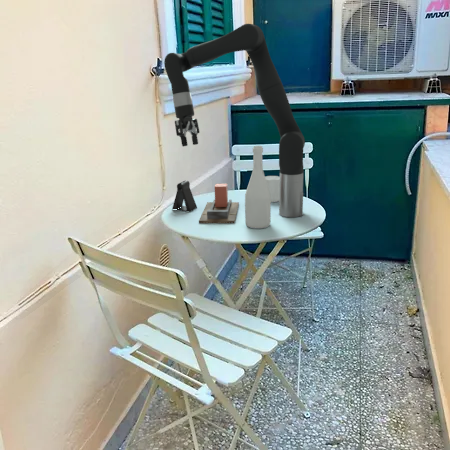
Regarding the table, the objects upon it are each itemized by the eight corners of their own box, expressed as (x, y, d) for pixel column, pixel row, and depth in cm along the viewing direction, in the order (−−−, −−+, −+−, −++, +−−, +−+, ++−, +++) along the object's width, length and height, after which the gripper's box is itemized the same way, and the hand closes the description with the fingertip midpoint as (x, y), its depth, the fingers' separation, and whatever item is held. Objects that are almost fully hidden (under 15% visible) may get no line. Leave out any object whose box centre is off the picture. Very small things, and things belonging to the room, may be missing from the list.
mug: (252, 200, 202) (252, 178, 198) (260, 196, 208) (260, 174, 205) (276, 203, 196) (276, 180, 192) (283, 198, 203) (284, 176, 199)
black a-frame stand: (197, 208, 192) (195, 181, 188) (190, 212, 187) (189, 184, 183) (178, 206, 196) (177, 179, 192) (172, 210, 190) (170, 182, 186)
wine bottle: (247, 220, 174) (246, 144, 164) (271, 221, 172) (272, 144, 162) (243, 228, 165) (243, 148, 155) (269, 229, 163) (270, 148, 154)
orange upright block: (227, 203, 192) (227, 183, 189) (226, 207, 188) (226, 186, 185) (216, 203, 193) (215, 183, 190) (215, 207, 188) (214, 186, 185)
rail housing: (238, 204, 196) (238, 195, 194) (234, 223, 171) (234, 213, 170) (207, 204, 197) (207, 195, 196) (198, 223, 172) (198, 213, 171)
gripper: (181, 103, 171) (189, 145, 174) (200, 103, 183) (206, 142, 186) (166, 106, 174) (173, 148, 177) (184, 106, 187) (191, 145, 190)
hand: (190, 145), depth 182 cm, fingers open, 8 cm apart
